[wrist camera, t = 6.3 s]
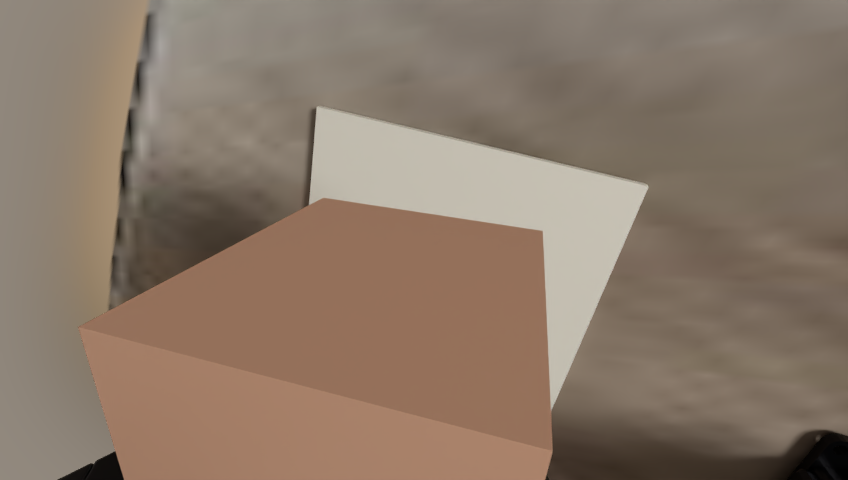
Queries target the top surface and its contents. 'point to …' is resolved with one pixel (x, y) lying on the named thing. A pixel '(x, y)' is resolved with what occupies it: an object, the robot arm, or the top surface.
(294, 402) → the tan rectangular block
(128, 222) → the top surface
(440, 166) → the mat
